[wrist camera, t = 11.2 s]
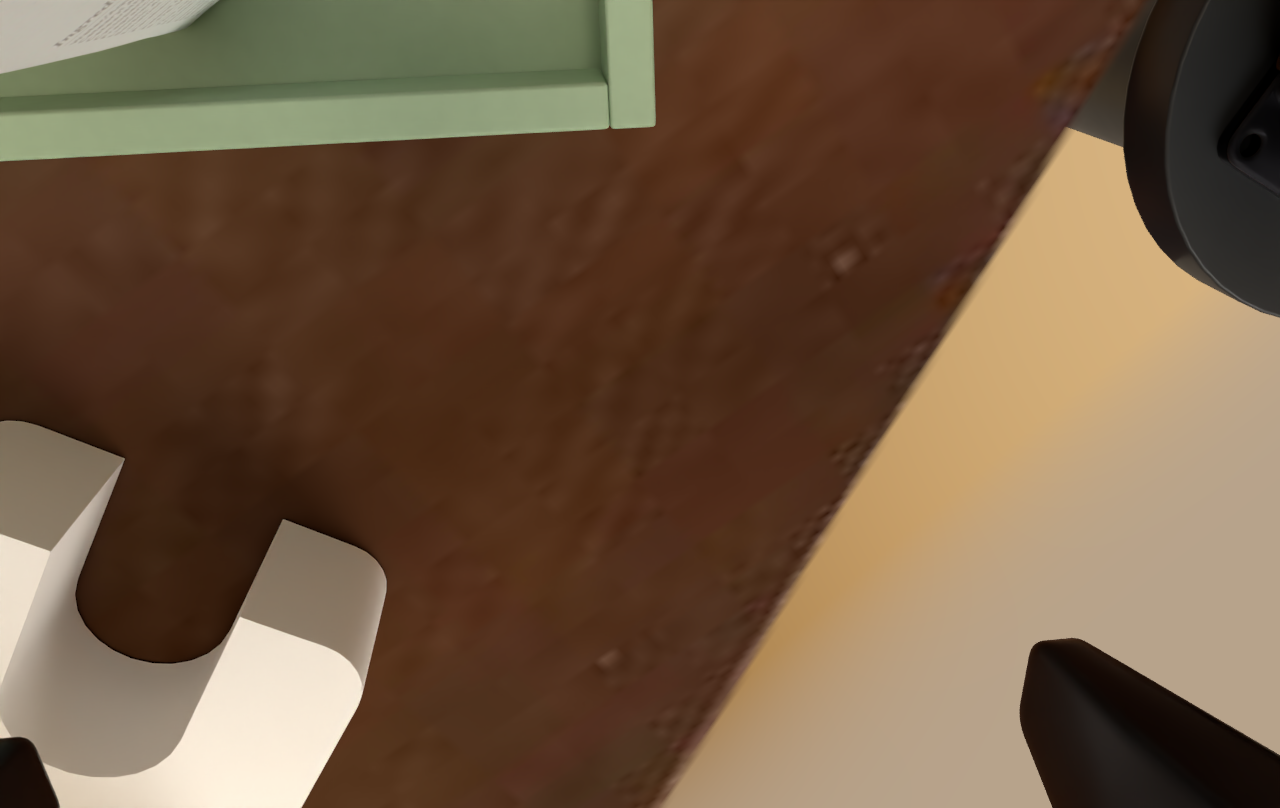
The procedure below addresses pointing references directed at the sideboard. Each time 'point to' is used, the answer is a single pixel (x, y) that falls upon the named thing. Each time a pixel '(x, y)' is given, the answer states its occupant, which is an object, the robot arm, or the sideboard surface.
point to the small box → (84, 26)
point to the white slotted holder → (181, 692)
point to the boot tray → (341, 77)
